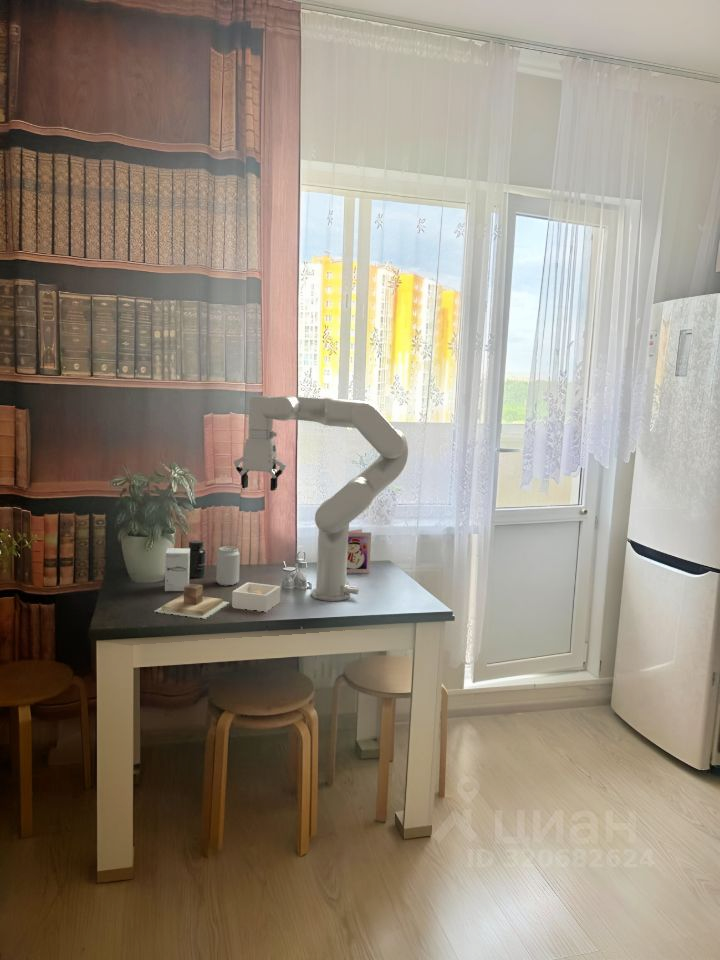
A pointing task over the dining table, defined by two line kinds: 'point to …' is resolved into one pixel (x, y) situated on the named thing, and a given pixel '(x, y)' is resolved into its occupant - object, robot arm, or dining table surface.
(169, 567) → the supplement box
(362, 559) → the greeting card
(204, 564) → the supplement bottle
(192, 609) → the lid
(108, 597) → the dining table surface
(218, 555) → the can
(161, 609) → the mat
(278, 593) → the dish
